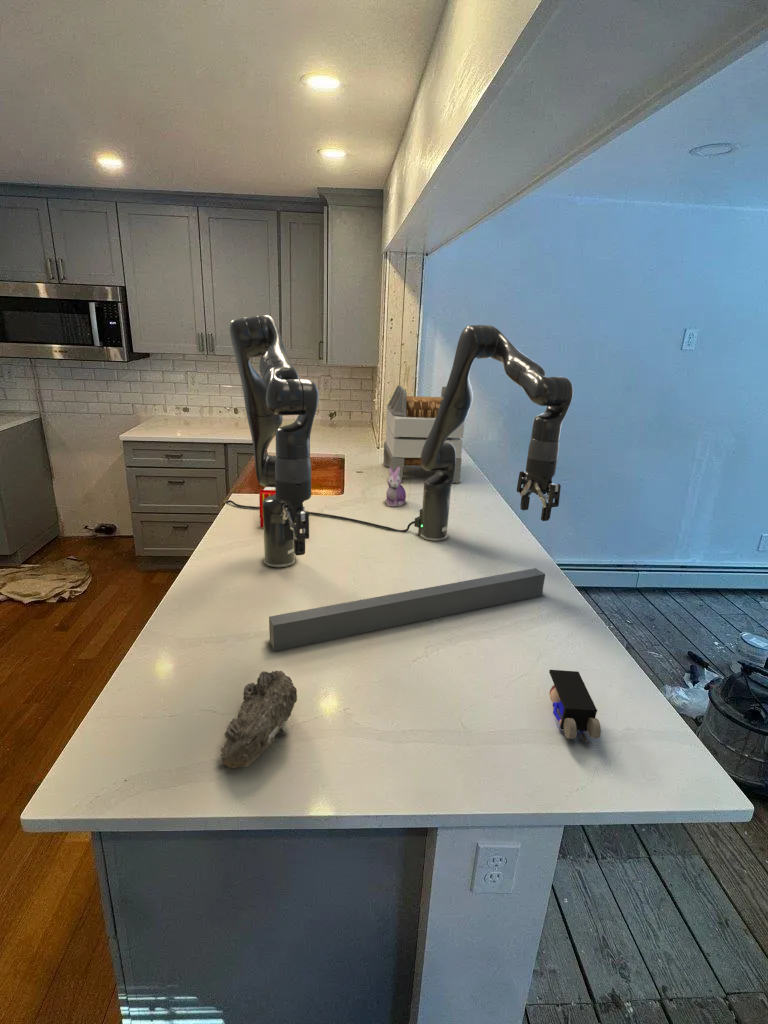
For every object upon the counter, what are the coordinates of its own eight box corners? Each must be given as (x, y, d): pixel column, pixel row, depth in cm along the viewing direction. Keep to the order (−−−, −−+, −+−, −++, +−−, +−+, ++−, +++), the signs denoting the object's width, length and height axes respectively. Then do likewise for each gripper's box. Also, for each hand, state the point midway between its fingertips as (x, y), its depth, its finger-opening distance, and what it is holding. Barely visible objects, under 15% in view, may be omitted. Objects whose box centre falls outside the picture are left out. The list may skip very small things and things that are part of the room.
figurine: (390, 508, 224) (392, 471, 219) (379, 500, 233) (380, 465, 228) (411, 505, 229) (413, 469, 223) (399, 498, 237) (401, 463, 232)
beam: (532, 589, 164) (535, 567, 162) (542, 595, 161) (545, 574, 158) (269, 641, 133) (268, 616, 131) (274, 651, 129) (273, 625, 127)
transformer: (382, 463, 289) (386, 382, 275) (445, 464, 293) (451, 384, 279) (390, 482, 257) (394, 392, 243) (460, 483, 261) (468, 394, 247)
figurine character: (598, 755, 105) (572, 695, 118) (607, 725, 101) (580, 667, 115) (562, 754, 104) (541, 694, 118) (570, 724, 101) (547, 666, 114)
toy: (299, 478, 224) (289, 491, 195) (299, 512, 227) (289, 529, 198) (268, 478, 224) (253, 490, 194) (268, 511, 226) (254, 528, 197)
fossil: (239, 671, 114) (294, 639, 110) (270, 702, 117) (325, 672, 112) (196, 762, 95) (261, 727, 90) (236, 796, 98) (300, 764, 93)
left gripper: (267, 468, 124) (269, 537, 129) (284, 487, 112) (286, 562, 117) (300, 466, 127) (301, 533, 132) (321, 484, 115) (320, 557, 120)
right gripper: (513, 450, 150) (506, 508, 156) (549, 464, 138) (540, 525, 144) (536, 448, 153) (528, 505, 159) (573, 461, 141) (563, 522, 147)
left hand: (294, 546), depth 125 cm, fingers open, 8 cm apart
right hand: (534, 515), depth 151 cm, fingers open, 8 cm apart
